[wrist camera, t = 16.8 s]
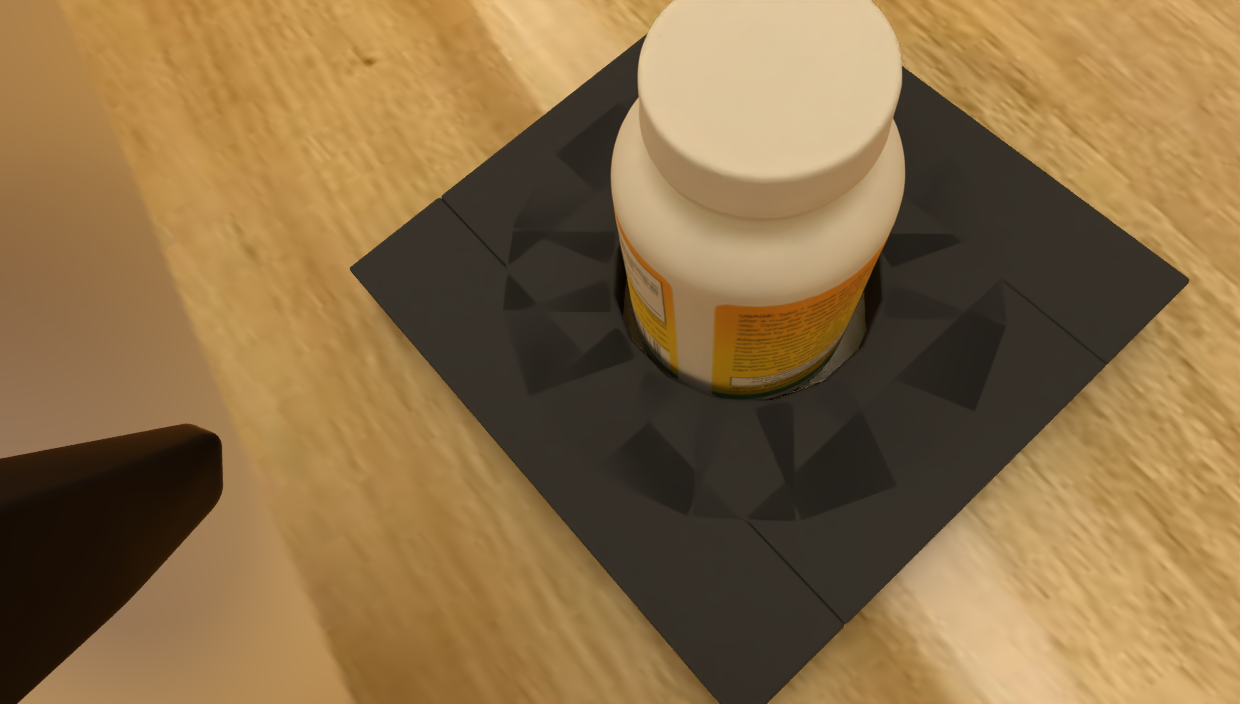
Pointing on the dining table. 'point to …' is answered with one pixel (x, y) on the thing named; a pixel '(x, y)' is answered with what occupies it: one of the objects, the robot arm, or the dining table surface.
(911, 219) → the socket pad
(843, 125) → the supplement bottle
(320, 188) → the dining table surface
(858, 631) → the dining table surface
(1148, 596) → the dining table surface
